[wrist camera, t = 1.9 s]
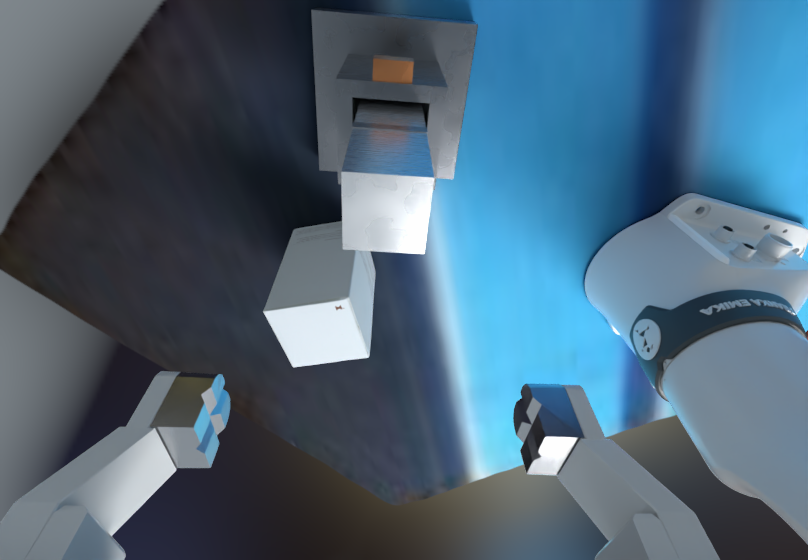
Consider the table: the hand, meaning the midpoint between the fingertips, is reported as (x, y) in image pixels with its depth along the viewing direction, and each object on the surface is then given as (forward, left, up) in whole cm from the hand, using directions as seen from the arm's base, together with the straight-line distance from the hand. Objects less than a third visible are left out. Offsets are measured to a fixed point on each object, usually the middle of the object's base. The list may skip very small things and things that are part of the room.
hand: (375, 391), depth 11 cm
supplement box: (+5, +16, -30) cm, 34 cm away
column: (0, 0, -28) cm, 28 cm away
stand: (0, 0, -30) cm, 30 cm away
